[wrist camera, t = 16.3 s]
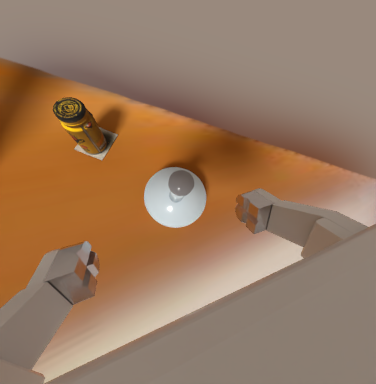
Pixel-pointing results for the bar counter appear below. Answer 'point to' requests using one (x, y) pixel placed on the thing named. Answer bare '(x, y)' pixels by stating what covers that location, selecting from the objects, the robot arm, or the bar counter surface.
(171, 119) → the bar counter surface
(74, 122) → the condiment
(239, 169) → the bar counter surface
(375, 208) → the bar counter surface
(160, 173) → the lid
